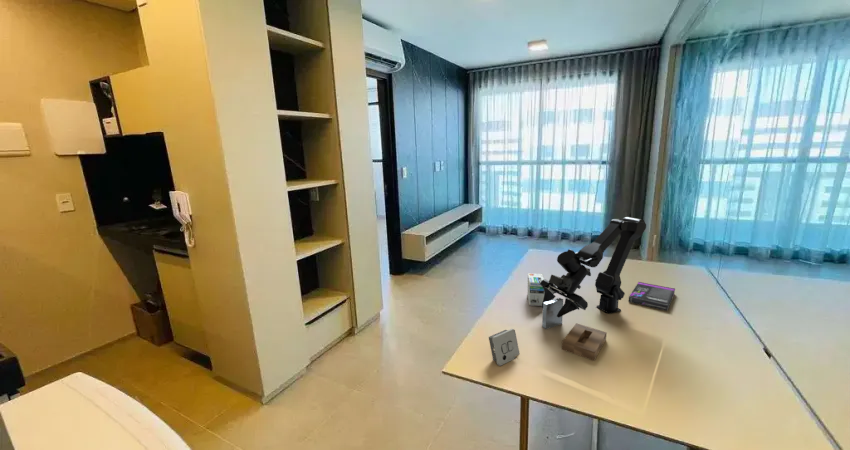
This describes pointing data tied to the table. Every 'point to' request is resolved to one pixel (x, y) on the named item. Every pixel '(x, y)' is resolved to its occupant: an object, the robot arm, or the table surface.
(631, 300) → the box
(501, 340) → the electrical switch
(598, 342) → the walnut slot box
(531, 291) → the light bulb box
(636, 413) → the table surface
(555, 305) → the gray rectangular metal block
